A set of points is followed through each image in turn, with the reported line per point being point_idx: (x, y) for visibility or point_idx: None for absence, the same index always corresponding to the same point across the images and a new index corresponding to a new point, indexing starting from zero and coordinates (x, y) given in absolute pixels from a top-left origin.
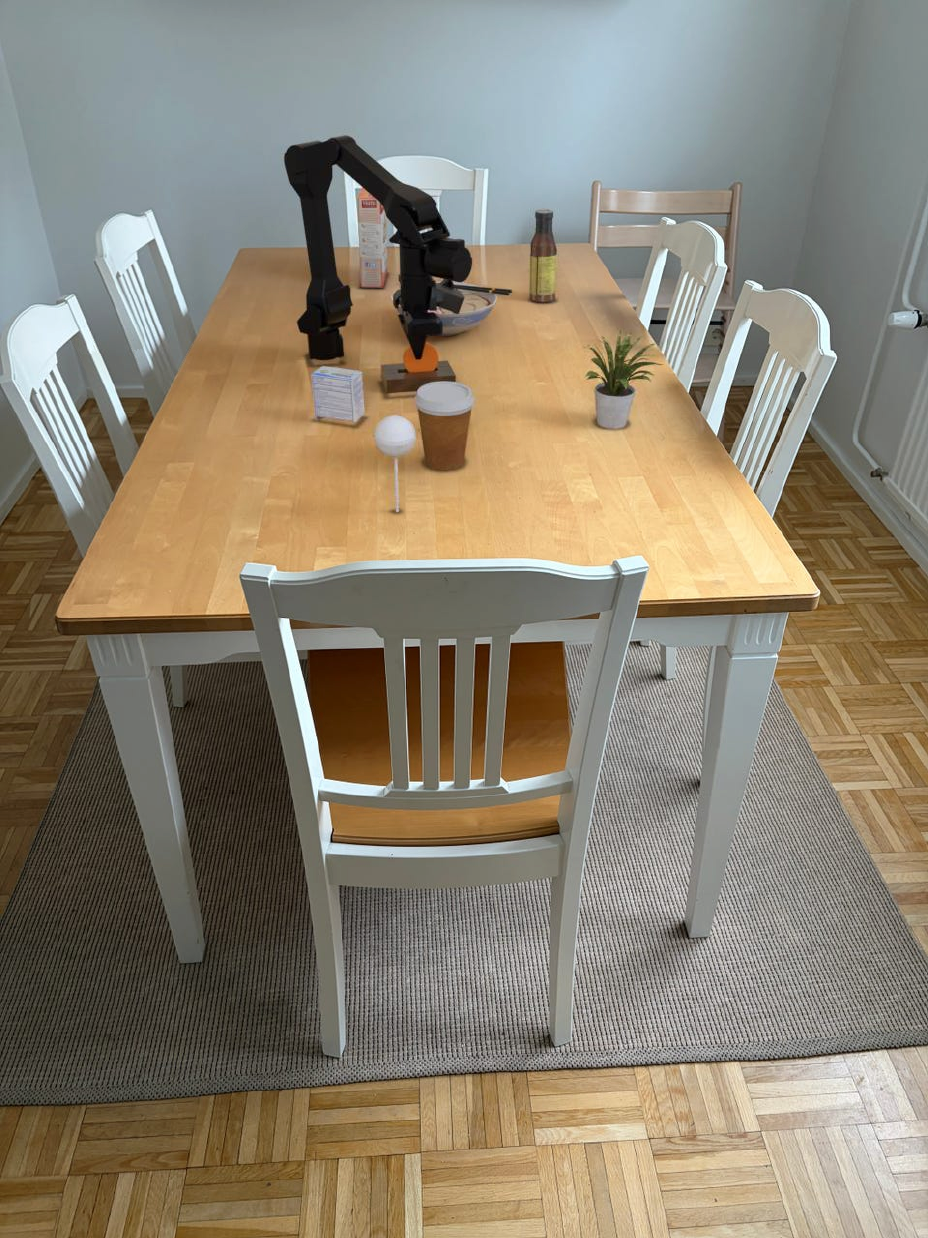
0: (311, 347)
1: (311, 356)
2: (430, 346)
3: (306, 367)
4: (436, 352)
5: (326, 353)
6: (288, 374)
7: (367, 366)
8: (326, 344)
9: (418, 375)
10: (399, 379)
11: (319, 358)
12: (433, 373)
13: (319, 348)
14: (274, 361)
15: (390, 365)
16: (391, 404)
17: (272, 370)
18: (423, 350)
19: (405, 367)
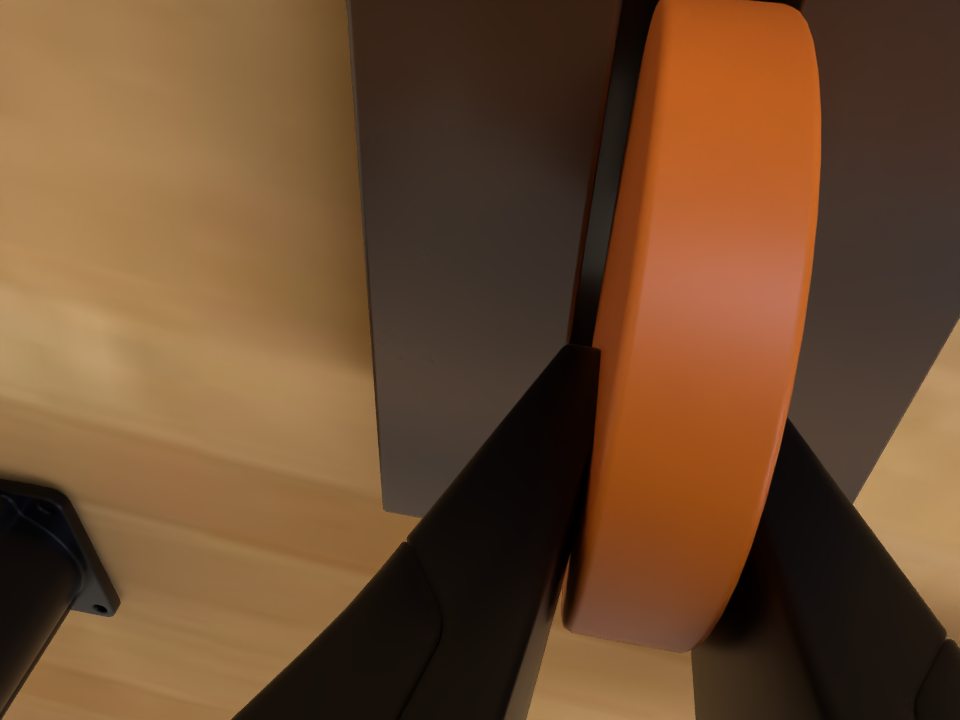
0: (24, 675)
1: (59, 626)
2: (790, 369)
3: (142, 615)
4: (818, 140)
5: (45, 606)
6: (243, 681)
7: (83, 379)
8: (8, 662)
9: (856, 311)
10: (851, 500)
11: (70, 600)
12: (905, 93)
13: (34, 658)
14: (78, 672)
15: (419, 456)
16: (939, 454)
17: (193, 702)
18: (834, 481)
19: (517, 360)
